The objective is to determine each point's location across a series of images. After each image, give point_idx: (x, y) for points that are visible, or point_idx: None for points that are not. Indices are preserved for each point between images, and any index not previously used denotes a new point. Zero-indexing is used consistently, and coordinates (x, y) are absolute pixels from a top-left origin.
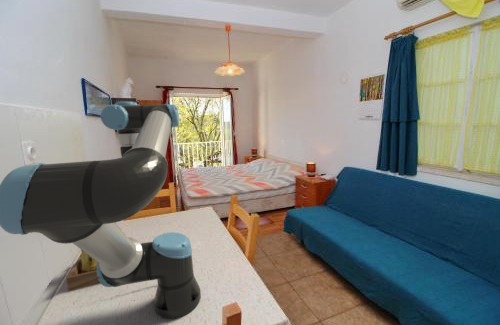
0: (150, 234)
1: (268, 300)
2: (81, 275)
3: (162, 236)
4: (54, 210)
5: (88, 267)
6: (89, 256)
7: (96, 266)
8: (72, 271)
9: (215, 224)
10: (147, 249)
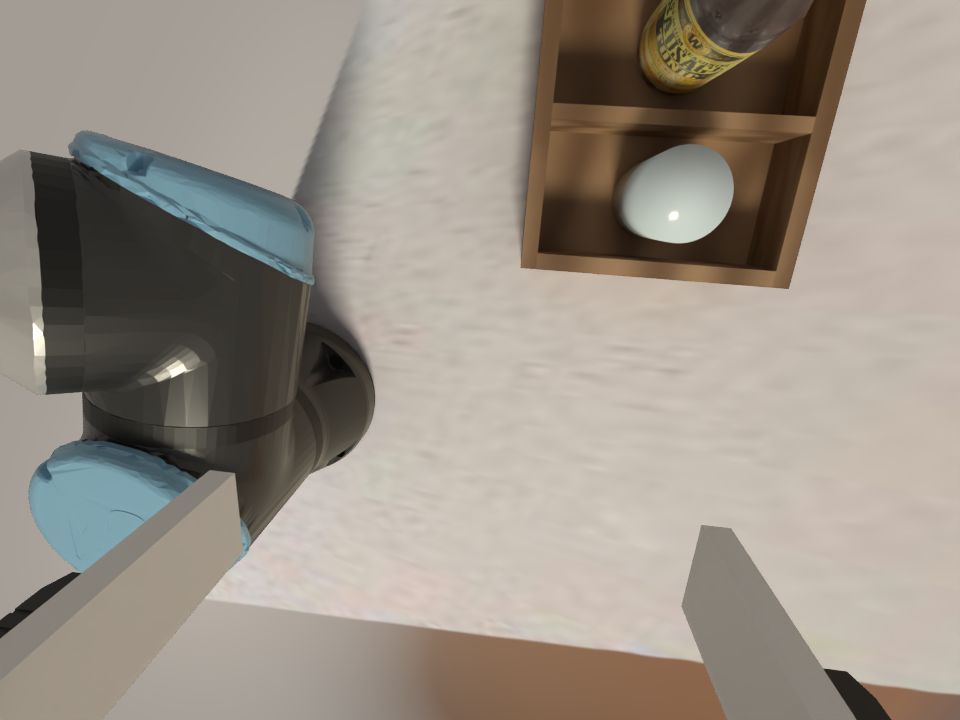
0: (936, 351)
1: (213, 594)
2: (545, 3)
3: (144, 508)
4: None
5: (649, 22)
6: (667, 11)
7: (648, 68)
8: None
9: None
10: (94, 408)
